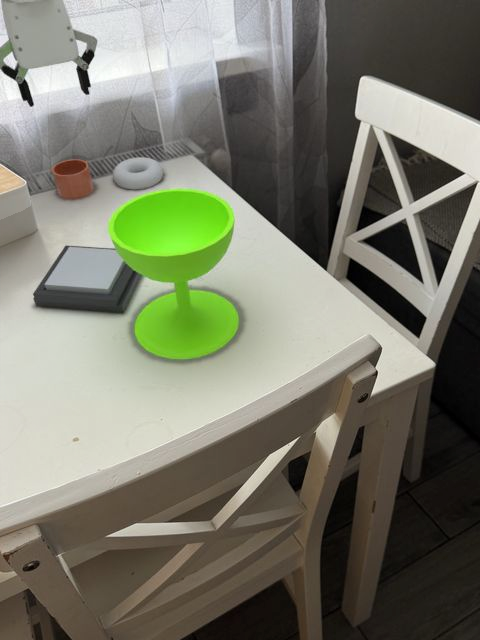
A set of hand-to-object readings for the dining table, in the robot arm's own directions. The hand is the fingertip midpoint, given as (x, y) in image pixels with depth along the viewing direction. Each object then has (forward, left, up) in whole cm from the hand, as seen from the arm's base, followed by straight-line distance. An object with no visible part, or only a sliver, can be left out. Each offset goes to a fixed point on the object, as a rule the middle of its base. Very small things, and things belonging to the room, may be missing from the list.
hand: (58, 98), depth 104 cm
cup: (-2, 0, -19) cm, 19 cm away
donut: (+9, +6, -19) cm, 22 cm away
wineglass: (+29, -36, -19) cm, 50 cm away
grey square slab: (+12, -29, -16) cm, 35 cm away
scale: (+12, -29, -19) cm, 36 cm away
